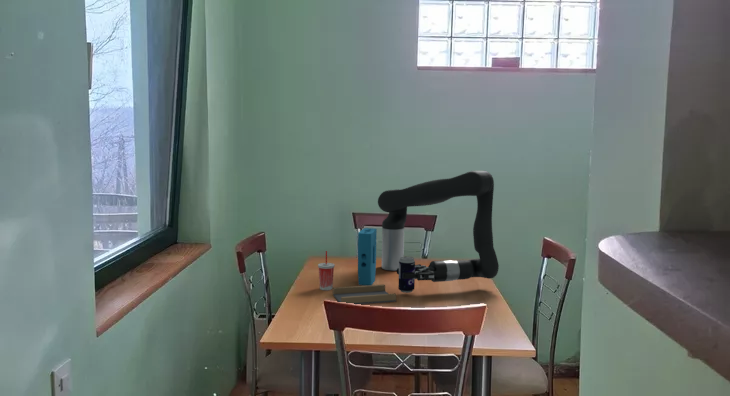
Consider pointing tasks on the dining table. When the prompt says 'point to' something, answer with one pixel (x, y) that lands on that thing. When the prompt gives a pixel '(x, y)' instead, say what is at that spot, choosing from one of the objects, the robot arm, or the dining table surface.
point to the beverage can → (406, 266)
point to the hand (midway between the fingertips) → (400, 273)
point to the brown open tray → (363, 294)
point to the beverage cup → (326, 275)
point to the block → (366, 256)
